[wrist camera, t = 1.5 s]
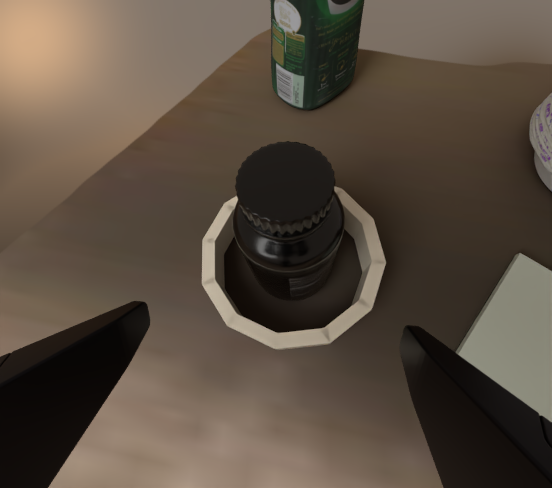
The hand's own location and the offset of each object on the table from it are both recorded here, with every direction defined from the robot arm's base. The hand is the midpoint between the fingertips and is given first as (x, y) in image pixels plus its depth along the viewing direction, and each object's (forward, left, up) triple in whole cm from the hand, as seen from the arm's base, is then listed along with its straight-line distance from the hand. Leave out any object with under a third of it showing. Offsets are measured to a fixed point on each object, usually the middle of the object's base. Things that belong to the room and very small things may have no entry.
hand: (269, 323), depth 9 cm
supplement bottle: (+4, +5, -13) cm, 14 cm away
